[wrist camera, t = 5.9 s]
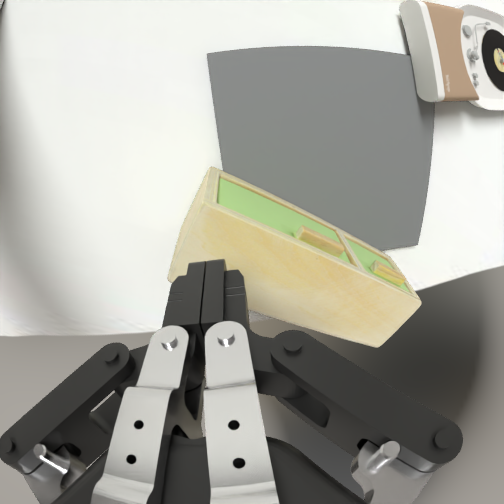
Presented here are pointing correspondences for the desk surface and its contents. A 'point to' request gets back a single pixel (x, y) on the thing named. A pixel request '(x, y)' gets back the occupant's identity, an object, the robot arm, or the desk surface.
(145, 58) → the desk surface
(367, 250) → the toy refrigerator
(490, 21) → the record player
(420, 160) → the mat
